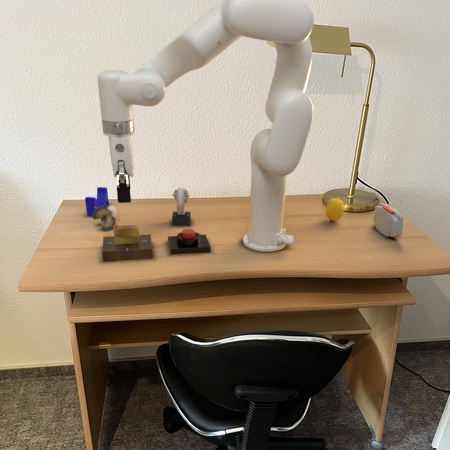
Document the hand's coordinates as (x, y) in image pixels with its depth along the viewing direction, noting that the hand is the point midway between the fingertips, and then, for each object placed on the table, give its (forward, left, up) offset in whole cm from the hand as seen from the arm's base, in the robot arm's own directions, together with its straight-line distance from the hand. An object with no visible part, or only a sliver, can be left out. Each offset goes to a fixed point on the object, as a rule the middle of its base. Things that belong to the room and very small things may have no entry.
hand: (124, 196), depth 127 cm
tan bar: (0, 0, -13) cm, 13 cm away
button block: (-12, -12, -16) cm, 23 cm away
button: (-12, -12, -13) cm, 21 cm away
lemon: (-40, -54, -16) cm, 69 cm away
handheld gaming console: (-57, -53, -16) cm, 79 cm away
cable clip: (+29, -21, -16) cm, 39 cm away
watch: (0, -26, -16) cm, 30 cm away
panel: (0, 0, -16) cm, 16 cm away
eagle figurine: (+19, -12, -16) cm, 28 cm away
